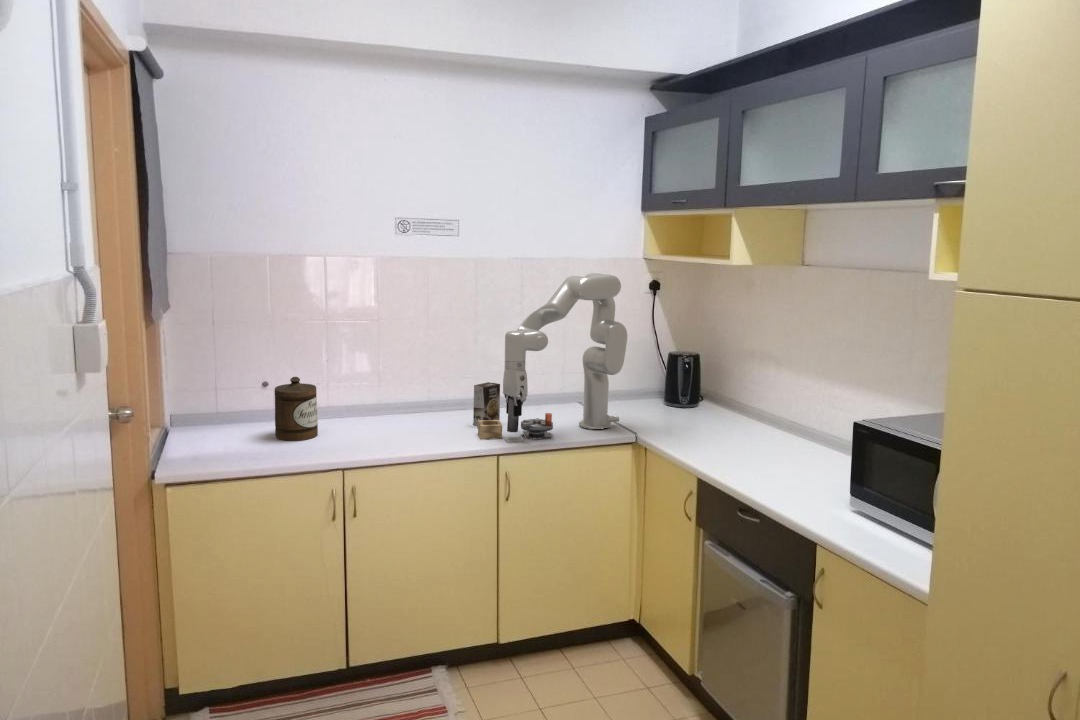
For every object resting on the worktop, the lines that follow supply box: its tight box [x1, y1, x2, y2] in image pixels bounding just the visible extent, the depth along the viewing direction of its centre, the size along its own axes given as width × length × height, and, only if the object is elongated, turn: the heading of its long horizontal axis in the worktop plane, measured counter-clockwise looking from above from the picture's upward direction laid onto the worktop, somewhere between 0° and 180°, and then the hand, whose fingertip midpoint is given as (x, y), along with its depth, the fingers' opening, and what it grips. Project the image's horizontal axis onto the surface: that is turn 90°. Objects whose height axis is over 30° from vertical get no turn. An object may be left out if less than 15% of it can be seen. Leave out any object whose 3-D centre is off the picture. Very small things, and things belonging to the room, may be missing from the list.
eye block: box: [477, 420, 503, 440], centre depth 292 cm, size 8×8×5 cm
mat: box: [504, 436, 524, 443], centre depth 288 cm, size 6×6×1 cm
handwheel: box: [520, 412, 554, 432], centre depth 294 cm, size 12×12×6 cm
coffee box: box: [472, 381, 501, 427], centre depth 308 cm, size 9×6×16 cm
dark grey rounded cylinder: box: [506, 398, 520, 433], centre depth 286 cm, size 4×4×12 cm
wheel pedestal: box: [522, 430, 552, 440], centre depth 295 cm, size 9×9×3 cm
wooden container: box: [274, 376, 319, 442], centre depth 286 cm, size 15×15×22 cm
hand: (513, 414), depth 286 cm, fingers closed on dark grey rounded cylinder, 4 cm apart
